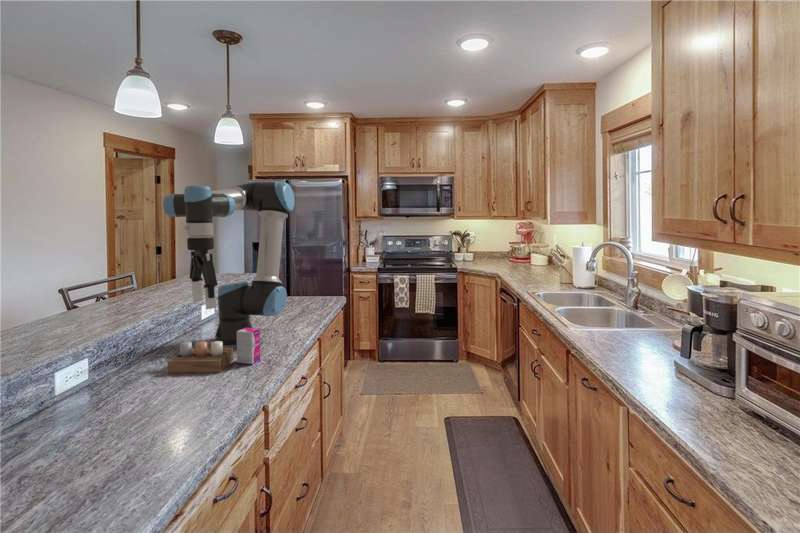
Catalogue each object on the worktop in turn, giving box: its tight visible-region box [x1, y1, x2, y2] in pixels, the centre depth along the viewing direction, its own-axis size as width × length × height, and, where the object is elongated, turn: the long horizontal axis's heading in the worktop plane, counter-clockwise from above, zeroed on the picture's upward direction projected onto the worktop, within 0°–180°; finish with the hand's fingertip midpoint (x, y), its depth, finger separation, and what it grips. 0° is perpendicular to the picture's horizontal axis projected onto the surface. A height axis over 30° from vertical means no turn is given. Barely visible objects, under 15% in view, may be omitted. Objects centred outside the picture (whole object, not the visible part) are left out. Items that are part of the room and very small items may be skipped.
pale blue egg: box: [179, 341, 193, 357], centre depth 151 cm, size 4×4×5 cm
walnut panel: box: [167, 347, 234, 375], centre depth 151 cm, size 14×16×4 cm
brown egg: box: [195, 340, 209, 357], centre depth 151 cm, size 4×4×5 cm
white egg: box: [210, 340, 224, 356], centre depth 151 cm, size 4×4×5 cm
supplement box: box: [236, 327, 261, 366], centre depth 155 cm, size 6×6×12 cm
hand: (204, 305), depth 143 cm, fingers open, 13 cm apart
